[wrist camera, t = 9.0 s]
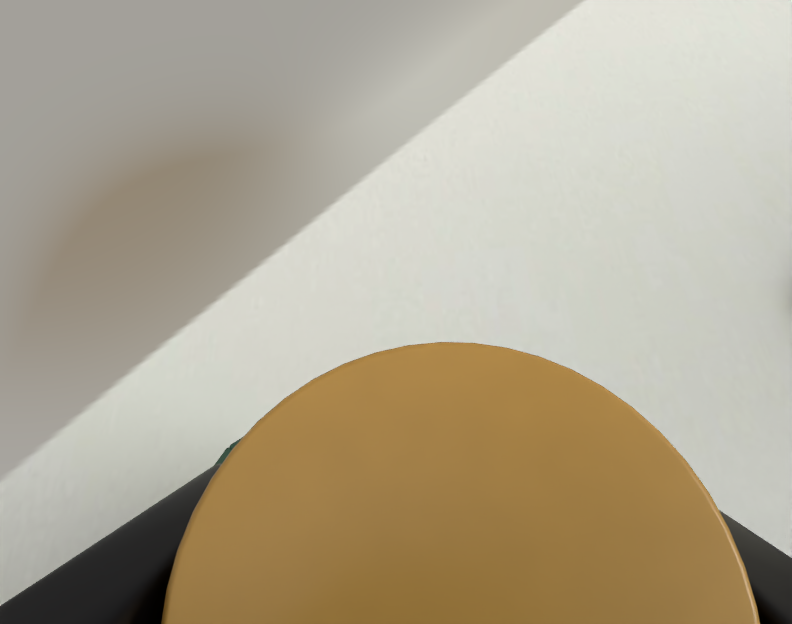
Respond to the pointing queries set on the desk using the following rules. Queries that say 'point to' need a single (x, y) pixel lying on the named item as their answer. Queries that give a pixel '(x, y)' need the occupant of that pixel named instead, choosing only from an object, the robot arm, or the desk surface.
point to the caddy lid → (456, 506)
